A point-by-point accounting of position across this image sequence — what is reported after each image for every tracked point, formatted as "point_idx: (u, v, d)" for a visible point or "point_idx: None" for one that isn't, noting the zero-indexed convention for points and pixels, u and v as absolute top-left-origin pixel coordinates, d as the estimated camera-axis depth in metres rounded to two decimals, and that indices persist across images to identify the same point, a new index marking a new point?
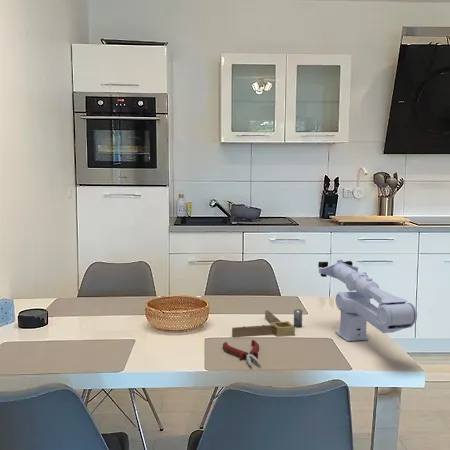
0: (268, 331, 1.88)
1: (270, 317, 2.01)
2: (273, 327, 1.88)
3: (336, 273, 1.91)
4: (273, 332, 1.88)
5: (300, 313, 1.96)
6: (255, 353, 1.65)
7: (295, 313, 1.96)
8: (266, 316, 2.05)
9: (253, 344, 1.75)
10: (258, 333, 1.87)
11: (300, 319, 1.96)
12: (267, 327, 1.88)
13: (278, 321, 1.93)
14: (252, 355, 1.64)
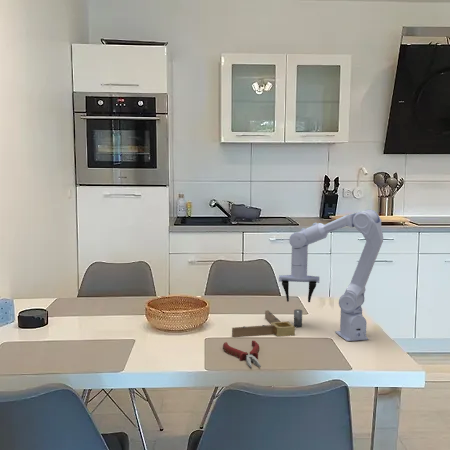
0: (268, 331, 1.88)
1: (270, 317, 2.01)
2: (273, 327, 1.88)
3: (291, 268, 1.95)
4: (273, 332, 1.88)
5: (300, 313, 1.96)
6: (255, 354, 1.65)
7: (295, 313, 1.96)
8: (266, 316, 2.05)
9: (253, 345, 1.75)
10: (258, 333, 1.87)
11: (300, 319, 1.96)
12: (267, 327, 1.88)
13: (278, 321, 1.93)
14: (252, 356, 1.63)
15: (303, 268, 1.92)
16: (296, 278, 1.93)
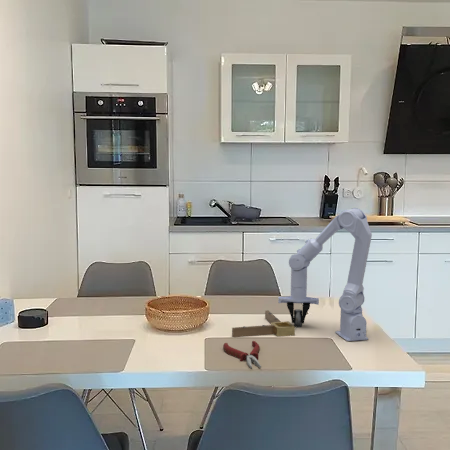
0: (268, 331, 1.88)
1: (270, 317, 2.01)
2: (273, 327, 1.88)
3: None
4: (273, 332, 1.88)
5: (300, 313, 1.96)
6: (255, 354, 1.64)
7: (295, 313, 1.96)
8: (266, 316, 2.05)
9: (254, 345, 1.75)
10: (258, 333, 1.87)
11: (300, 319, 1.96)
12: (267, 327, 1.88)
13: (278, 321, 1.93)
14: (252, 356, 1.63)
15: (302, 290, 1.93)
16: (295, 300, 1.94)
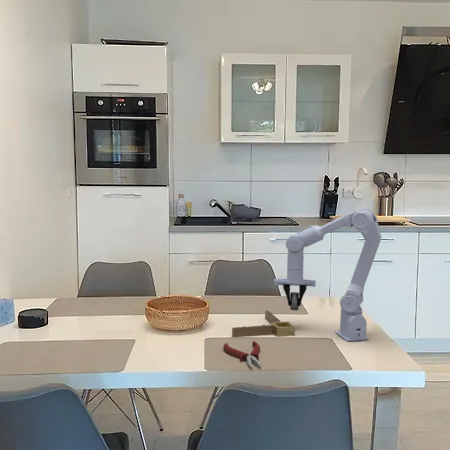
0: (268, 331, 1.88)
1: (270, 317, 2.01)
2: (273, 327, 1.88)
3: (287, 271, 1.93)
4: (273, 332, 1.88)
5: (296, 295, 1.93)
6: (256, 354, 1.64)
7: (291, 295, 1.93)
8: (266, 316, 2.05)
9: (254, 345, 1.74)
10: (258, 333, 1.87)
11: (296, 302, 1.93)
12: (267, 327, 1.88)
13: (278, 321, 1.93)
14: (253, 356, 1.63)
15: (299, 272, 1.91)
16: (292, 282, 1.91)
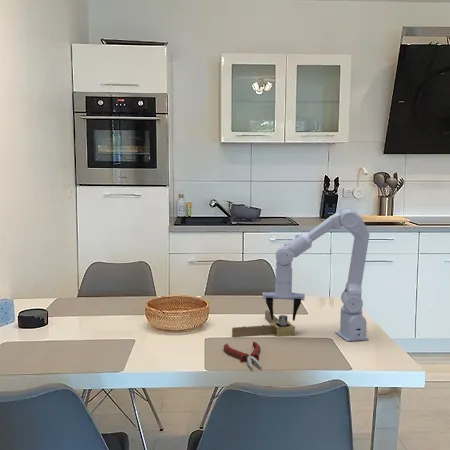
0: (268, 331, 1.88)
1: (270, 317, 2.01)
2: (273, 327, 1.88)
3: (275, 285, 1.88)
4: (273, 332, 1.88)
5: (285, 319, 1.88)
6: (256, 355, 1.63)
7: (280, 319, 1.89)
8: (266, 316, 2.05)
9: (254, 346, 1.74)
10: (258, 333, 1.87)
11: (285, 325, 1.88)
12: (267, 327, 1.88)
13: (278, 321, 1.93)
14: (253, 357, 1.62)
15: (287, 285, 1.85)
16: (280, 296, 1.86)
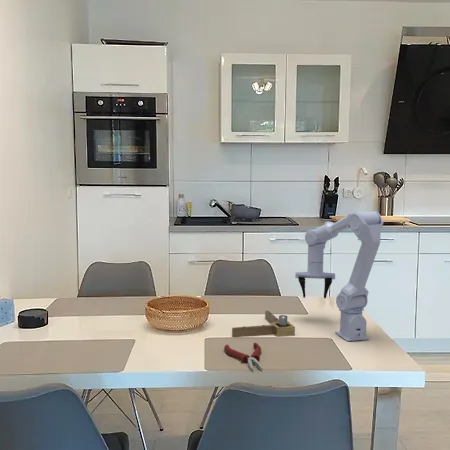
0: (268, 331, 1.88)
1: (270, 317, 2.01)
2: (273, 327, 1.88)
3: None
4: (273, 332, 1.88)
5: (285, 319, 1.88)
6: (257, 356, 1.63)
7: (280, 319, 1.89)
8: (266, 316, 2.05)
9: (255, 347, 1.73)
10: (258, 333, 1.87)
11: (285, 325, 1.88)
12: (267, 327, 1.88)
13: (278, 321, 1.93)
14: (254, 358, 1.61)
15: (319, 265, 1.98)
16: (312, 275, 1.98)
